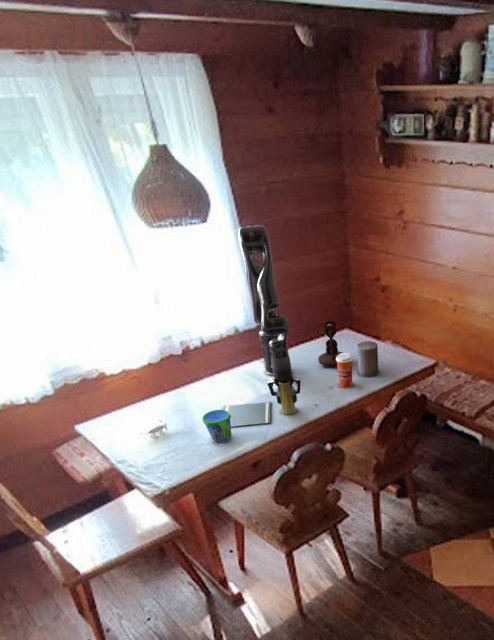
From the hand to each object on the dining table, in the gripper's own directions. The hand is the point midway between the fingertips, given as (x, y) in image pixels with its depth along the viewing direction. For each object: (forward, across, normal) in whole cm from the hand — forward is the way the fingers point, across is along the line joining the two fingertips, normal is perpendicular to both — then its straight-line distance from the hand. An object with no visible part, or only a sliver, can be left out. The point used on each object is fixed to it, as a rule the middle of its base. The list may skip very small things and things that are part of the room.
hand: (287, 402), depth 218 cm
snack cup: (+4, +27, +17) cm, 32 cm away
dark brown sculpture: (+4, -23, -46) cm, 52 cm away
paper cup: (+4, -27, -20) cm, 34 cm away
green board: (+4, +18, 0) cm, 18 cm away
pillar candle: (+4, -39, -31) cm, 50 cm away
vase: (+4, 0, 0) cm, 4 cm away
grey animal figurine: (+4, +54, +10) cm, 55 cm away
